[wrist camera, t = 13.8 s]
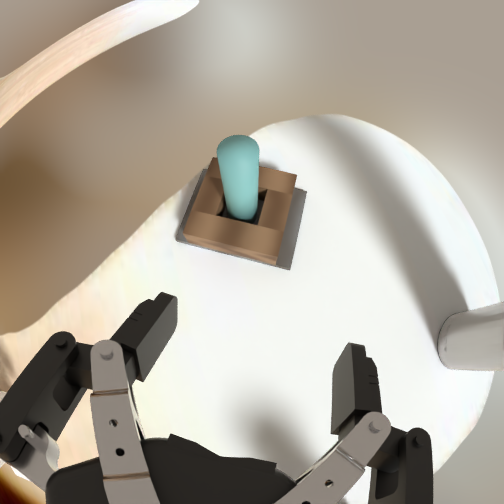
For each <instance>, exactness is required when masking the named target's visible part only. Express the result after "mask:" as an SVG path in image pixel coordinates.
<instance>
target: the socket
mask: <svg viewBox="0 0 504 504" xmlns="http://www.w3.org/2000/svg"><path fill="white" fill-rule="evenodd" d="M296 177H297V175H295V174H291V173H287V172H283V171H279V170H274V169H270V168H265V167H261V166H259V177H258V211H257V219H256V221H255V222H254V223H253V224H250V223H246V222H241V221H237V220H233V219H229V216H228V211H227V205H226V200H225V195H224V189H223V184H222V179H221V173H220V168H219V162H218V158H214V157H213V158H212V161H211V163H210V165H209V168H208V170H207V169H203V171H202V174H201V176H200V178H199V181H198V183H197V185H196V188H195V190H194V193H193V195H192V198H191V200H190V203H189V205H188V208H187V210H186V213H185V215H184V218H183V221H182V223H181V226H180V229H179V231H178V234H177V237H176V241H177V242H181V243H185V244H189V245H193V246H196V247H200V248H204V249H208V250H212V251H216V252H220V253H224V254H227V255H231V256H235V257H239V258H243V259H247V260H251V261H255V262H259V263H263V264H267V265H271V266H275V267H279V268H283V269H287V270H290V268H291V263H292V259H293V255H294V250H295V246H296V241H297V237H298V232H299V227H300V223H301V218H302V213H303V208H304V203H305V198H306V193H307V191H303V190H299V189H295V188H294V186H295V182H296Z"/></svg>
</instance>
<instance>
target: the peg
mask: <svg viewBox="0 0 504 504" xmlns="http://www.w3.org/2000/svg"><path fill="white" fill-rule="evenodd" d="M217 157H218V162H219V168H220V173H221V179H222V184H223V189H224V195H225V200H226V205H227V211H228V216H229V219H233V220H237V221H241V222H246V223H250V224H253V223H254V222H255V221H256V219H257V211H258V177H259V146H258V144H257V142H256V141H255V140H254V139H252V138H250V137H248V136H244V135H233V136H230V137H227V138H225V139H224V140H223V141H221V143H220V144H219V145H218V148H217Z"/></svg>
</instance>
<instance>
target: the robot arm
mask: <svg viewBox="0 0 504 504" xmlns="http://www.w3.org/2000/svg"><path fill="white" fill-rule="evenodd" d="M176 326H177V297H176V296H173V295H170V294H167V293H164V292H161V293H160V294H159V295H158V296H157V297H156V298H155V300H154V301H153V300H150V299H148V300H146V301H144V302H142V303H140V304H139V305H138V306H137V307H136V309H135V310H134V311H133V312H132V313H131V315H130V316H129V318H127V319H126V320H125V322H124V323H123V324H122V325H121V327H120V328H119V329H118V330H117V331H116V333H115V334H114V335H113V336H112V337H111V339H110V340H102V341H99V342H97V343H96V344H95V345H89V344H83V343H78V342H76V340H75V338H74V336H73V335H72V334H71V333H69V332H65V331H61V332H57V333H55V334H53V335H52V336H51V337H50V338H49V339H48V341H47V342H46V343H45V344H44V345H43V347H42V348H41V349H40V350H39V351H38V353H37V354H36V355H35V356H34V358H33V359H32V360H31V361H30V363H29V364H28V365H27V366H26V368H25V369H24V370H23V372H22V373H21V374H20V376H19V377H18V378H17V380H16V381H15V382H14V384H13V385H12V386H11V388H10V389H9V391H8V392H7V393H6V395H5V396H4V398H3V399H2V401H1V402H0V459H2V460H3V461H4V462H6V463H7V464H9V465H10V466H12V467H14V468H15V469H17V470H18V471H19V472H21V473H22V474H23V475H24V476H25V477H27V478H28V479H29V480H30V481H32V482H33V483H34V484H35V485H37V486H38V487H39V488H41V489H42V490H43V491H45V495H46V504H337V503H338V502H339V501H340V500H341V498H342V497H343V496H344V495H345V494H346V493H347V492H348V491H349V490H350V489H351V488H352V487H353V485H354V484H355V483H356V482H357V481H358V480H359V478H360V477H361V476H362V475H363V473H364V472H365V469H364V468H365V466H369V467H372V469H371V481H370V491H369V500H368V504H433V462H432V447H431V439H430V436H429V434H428V433H427V432H426V431H425V430H424V429H422V428H413V429H411V430H410V431H409V432H405V431H402V430H400V429H397V428H394V427H392V426H391V424H390V421H389V419H388V418H387V417H386V416H385V415H383V414H382V407H381V397H380V389H379V386H378V384H379V381H378V378H377V377H378V374H377V367H376V365H375V363H374V362H373V360H372V358H369V357H366V351H365V346H364V345H359V344H354V343H348V344H347V345H346V347H345V348H344V350H343V352H342V354H341V355H340V357H339V359H338V360H337V362H336V364H335V366H334V370H333V378H332V417H331V434H335V435H339V437H338V441H337V442H336V443H335V444H334V445H333V446H332V447H331V448H330V449H329V450H328V451H327V452H326V453H325V454H324V455H323V456H322V457H321V458H320V459H319V460H318V461H317V462H316V463H315V464H313V465H312V466H311V467H310V468H309V469H308V470H307V471H305V472H304V473H303V474H302V475H300V476H299V477H298V478H297V479H295V480H293V479H291V478H290V477H289V476H288V475H286V474H285V473H283V472H282V471H280V470H278V469H275V468H276V463H274V462H269V461H264V460H259V459H254V458H238V457H221V456H219V455H217V454H215V453H213V452H211V451H210V450H208V449H206V448H204V447H203V446H201V445H199V444H198V443H196V442H193V441H190V440H187V439H184V438H182V437H179V436H176V435H174V434H170V436H169V438H149V439H146V438H145V434H144V431H143V428H142V425H141V422H140V418H139V414H138V410H137V406H136V401H135V397H134V392H133V387H132V384H133V383H134V381H135V380H136V379H137V380H139V381H141V382H144V380H145V379H146V377H147V375H148V374H149V372H150V370H151V369H152V367H153V365H154V364H155V362H156V361H157V359H158V357H159V356H160V354H161V352H162V351H163V349H164V348H165V346H166V344H167V343H168V341H169V340H170V338H171V336H172V335H173V333H174V331H175V329H176ZM438 352H439V356H440V359H441V361H442V363H443V364H444V366H446V367H447V368H449V369H452V370H470V371H504V302H500V303H497V304H493V305H490V306H486V307H482V308H478V309H474V310H470V311H465V312H461V313H457V314H454V315H451V316H450V317H449V318H448V319H447V320H446V321H445V323H444V324H443V326H442V328H441V331H440V334H439V339H438ZM87 389H92V390H93V393H91V395H90V402H91V411H92V418H93V425H94V432H95V438H96V443H97V448H98V453H99V457H96V458H93V459H90V460H87V461H84V462H81V463H78V464H75V465H71V466H68V467H65V468H61V469H58V463H57V462H58V459H59V453H60V452H59V446H58V444H57V442H56V441H57V439H58V437H59V436H60V434H61V432H62V430H63V429H64V427H65V425H66V423H67V422H68V420H69V418H70V417H71V415H72V413H73V412H74V410H75V408H76V407H77V405H78V403H79V402H80V400H81V398H82V397H83V395H84V393H85V392H86V390H87Z"/></svg>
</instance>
